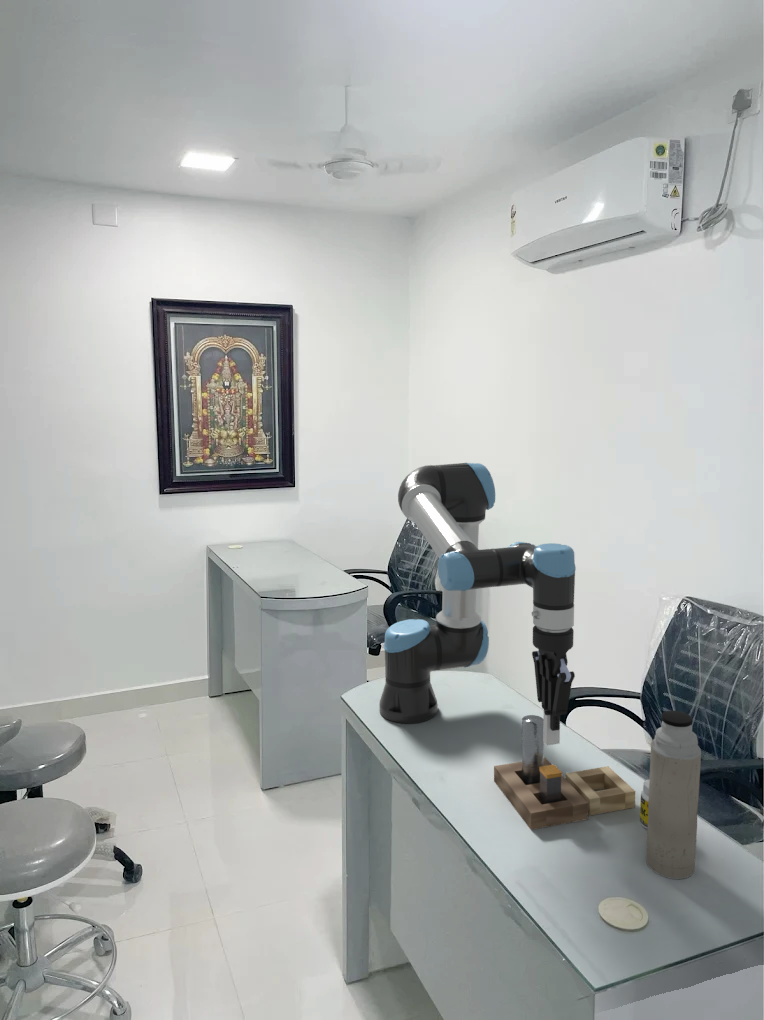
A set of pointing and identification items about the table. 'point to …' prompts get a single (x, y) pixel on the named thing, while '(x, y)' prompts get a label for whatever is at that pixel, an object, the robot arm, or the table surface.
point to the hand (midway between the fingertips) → (551, 742)
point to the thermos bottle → (673, 797)
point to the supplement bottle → (644, 805)
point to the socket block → (530, 802)
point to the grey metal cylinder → (532, 748)
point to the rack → (606, 800)
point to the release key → (550, 784)
